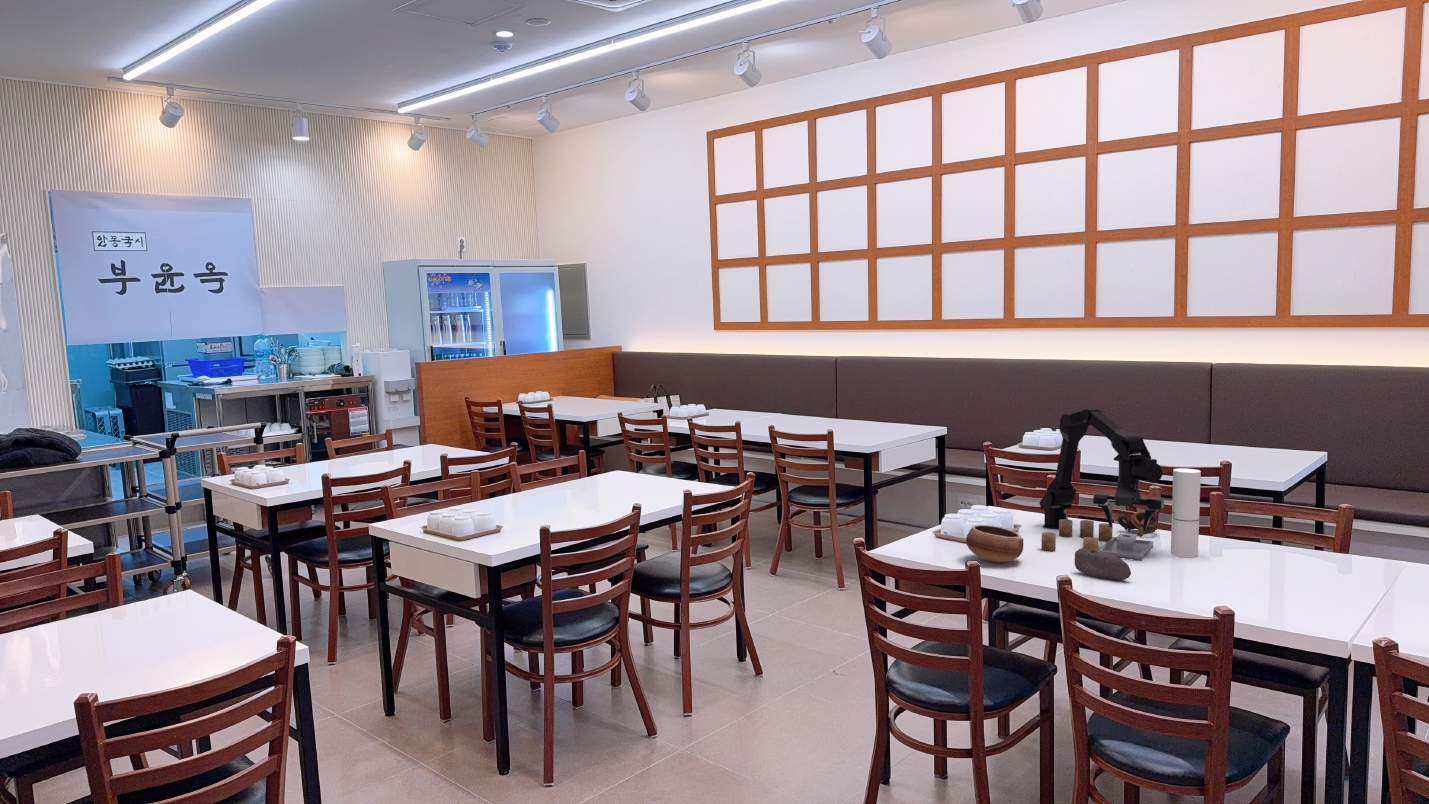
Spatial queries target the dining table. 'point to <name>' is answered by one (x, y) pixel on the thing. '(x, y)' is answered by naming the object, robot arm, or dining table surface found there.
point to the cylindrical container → (1185, 512)
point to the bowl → (994, 543)
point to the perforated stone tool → (1101, 564)
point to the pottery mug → (1137, 523)
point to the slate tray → (1137, 554)
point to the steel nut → (1126, 542)
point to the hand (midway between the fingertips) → (1127, 529)
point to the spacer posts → (1085, 533)
